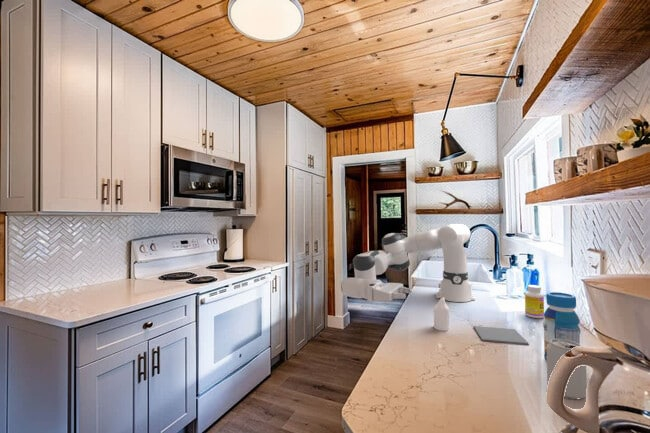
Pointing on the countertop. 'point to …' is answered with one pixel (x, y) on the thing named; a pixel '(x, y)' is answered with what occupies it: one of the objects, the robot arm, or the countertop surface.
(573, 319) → the beverage bottle
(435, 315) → the white piece
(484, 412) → the countertop surface
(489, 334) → the mat
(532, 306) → the supplement bottle
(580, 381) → the can
